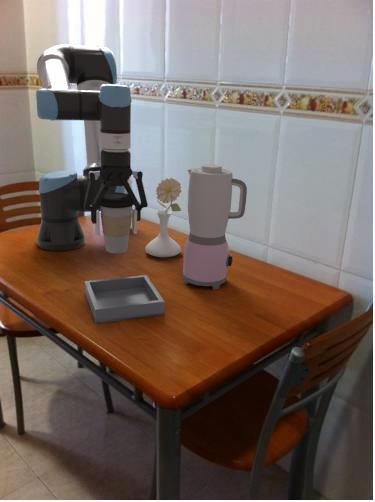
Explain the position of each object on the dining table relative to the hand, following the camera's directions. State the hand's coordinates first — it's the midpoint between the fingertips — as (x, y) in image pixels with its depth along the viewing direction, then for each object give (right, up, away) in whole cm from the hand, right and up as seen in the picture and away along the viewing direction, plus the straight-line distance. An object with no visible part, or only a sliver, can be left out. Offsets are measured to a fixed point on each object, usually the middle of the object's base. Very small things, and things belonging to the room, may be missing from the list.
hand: (116, 233), depth 124 cm
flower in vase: (+12, -6, +21) cm, 25 cm away
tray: (+4, -18, -12) cm, 21 cm away
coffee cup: (0, -4, +2) cm, 5 cm away
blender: (+26, -13, +3) cm, 29 cm away
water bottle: (-5, +3, +45) cm, 46 cm away
